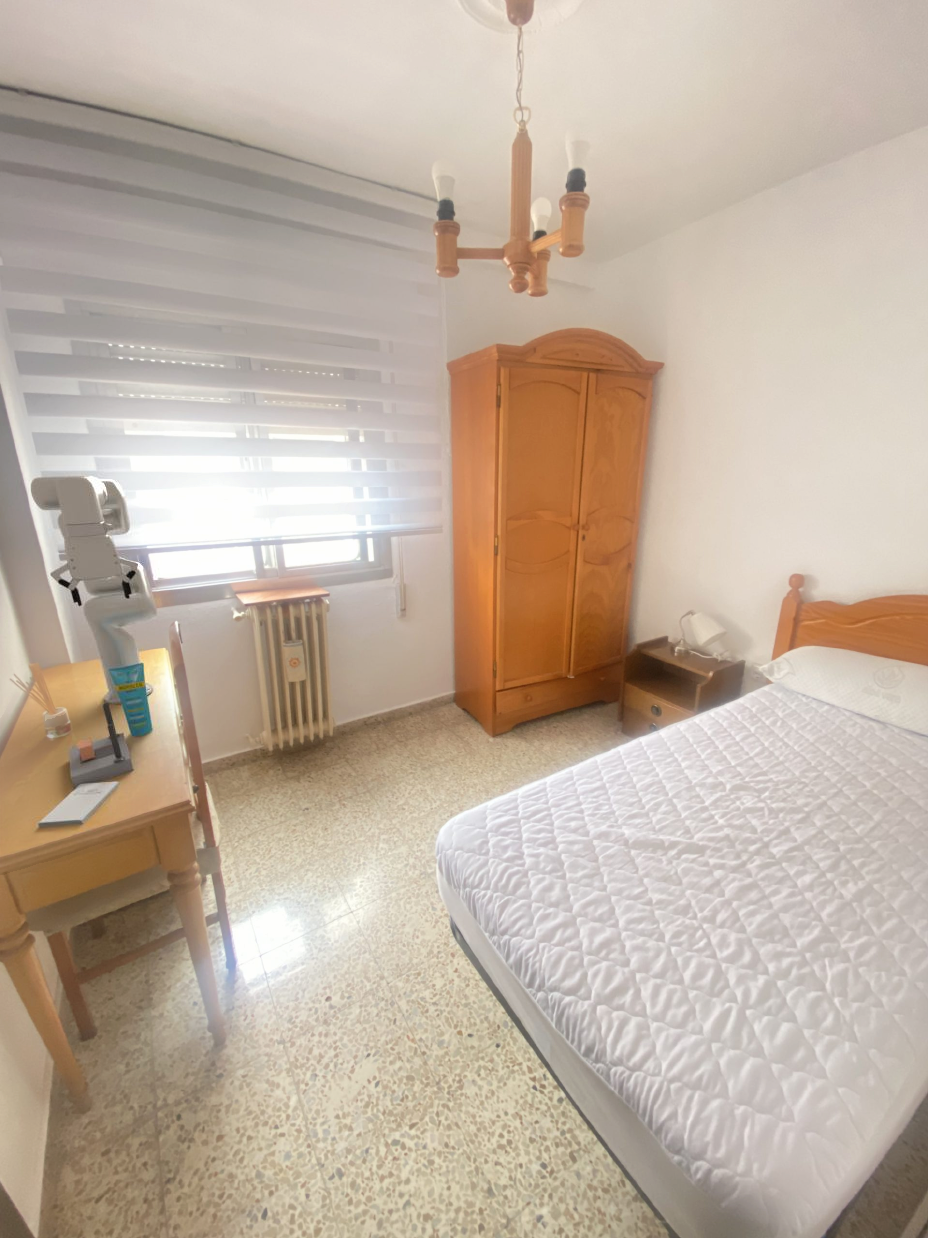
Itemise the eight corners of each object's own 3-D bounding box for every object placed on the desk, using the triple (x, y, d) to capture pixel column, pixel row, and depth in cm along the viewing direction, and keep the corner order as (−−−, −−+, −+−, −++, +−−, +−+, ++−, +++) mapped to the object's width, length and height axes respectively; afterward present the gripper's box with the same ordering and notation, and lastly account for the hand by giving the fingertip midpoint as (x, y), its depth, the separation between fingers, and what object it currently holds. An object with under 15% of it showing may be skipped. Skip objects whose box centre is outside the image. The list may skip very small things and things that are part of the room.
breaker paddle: (81, 753, 115) (77, 741, 114) (94, 749, 116) (90, 738, 115) (82, 761, 112) (78, 749, 111) (95, 757, 113) (91, 745, 112)
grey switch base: (72, 758, 119) (68, 747, 118) (125, 742, 125) (123, 731, 124) (74, 790, 107) (70, 777, 106) (133, 770, 114) (130, 758, 113)
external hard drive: (39, 829, 96) (81, 789, 108) (83, 826, 97) (120, 787, 109) (37, 823, 96) (79, 783, 108) (81, 819, 97) (118, 780, 108)
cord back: (110, 733, 122) (102, 703, 120) (115, 731, 123) (107, 701, 120) (110, 735, 121) (102, 704, 119) (116, 733, 122) (108, 703, 120)
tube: (125, 740, 126) (107, 672, 121) (125, 732, 130) (108, 665, 124) (159, 731, 130) (143, 664, 124) (158, 724, 134) (142, 659, 128)
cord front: (115, 756, 112) (106, 724, 110) (121, 754, 113) (113, 722, 110) (116, 759, 111) (107, 726, 109) (122, 757, 112) (113, 724, 110)
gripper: (128, 526, 124) (142, 592, 129) (39, 533, 113) (59, 605, 118) (132, 528, 118) (147, 597, 123) (39, 536, 108) (60, 611, 113)
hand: (104, 601), depth 121 cm, fingers open, 9 cm apart
